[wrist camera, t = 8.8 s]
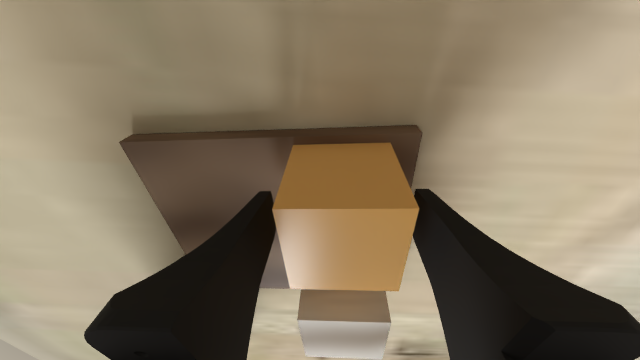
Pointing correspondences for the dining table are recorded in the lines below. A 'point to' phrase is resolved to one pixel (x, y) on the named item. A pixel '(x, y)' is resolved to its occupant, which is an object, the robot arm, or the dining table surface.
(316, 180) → the kraft paper cube
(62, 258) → the dining table surface
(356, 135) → the board
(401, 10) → the dining table surface
